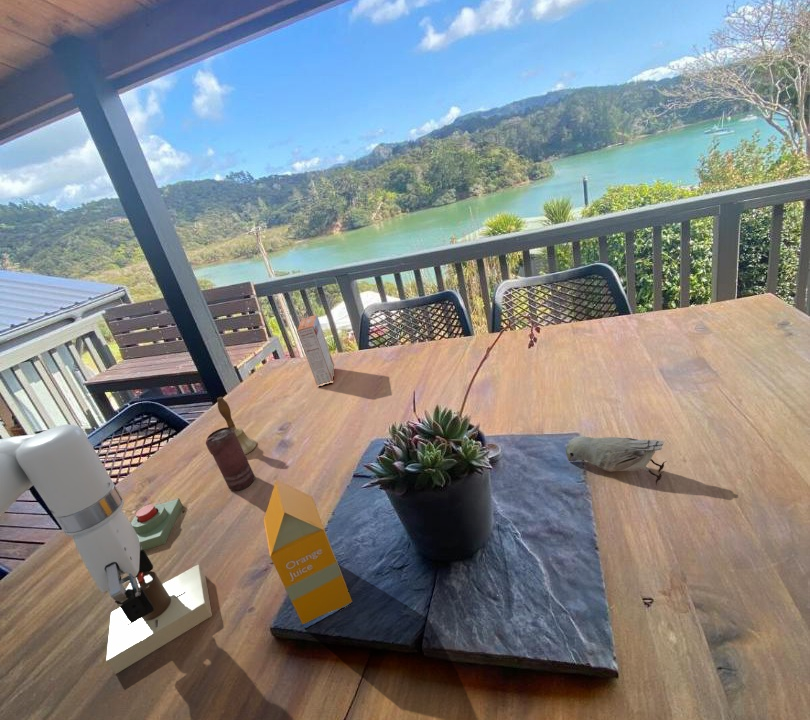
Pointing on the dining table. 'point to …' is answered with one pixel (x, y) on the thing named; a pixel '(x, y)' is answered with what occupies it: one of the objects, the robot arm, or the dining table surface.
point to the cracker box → (316, 349)
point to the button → (146, 513)
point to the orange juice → (303, 553)
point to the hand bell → (244, 441)
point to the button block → (157, 524)
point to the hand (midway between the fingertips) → (143, 593)
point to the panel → (159, 621)
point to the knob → (153, 593)
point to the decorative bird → (615, 453)
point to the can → (230, 458)
